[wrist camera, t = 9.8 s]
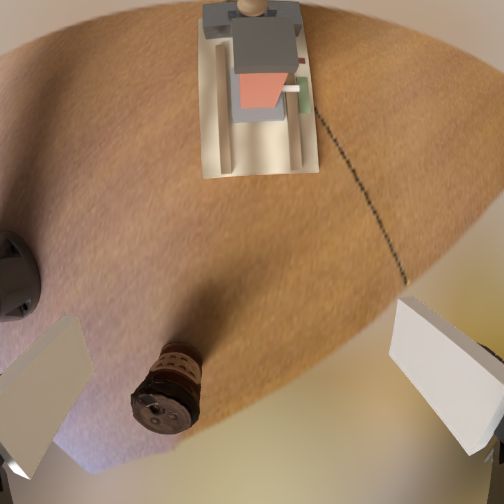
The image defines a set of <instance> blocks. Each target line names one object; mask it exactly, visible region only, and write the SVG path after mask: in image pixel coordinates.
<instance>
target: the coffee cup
mask: <svg viewBox="0 0 504 504" xmlns="http://www.w3.org/2000/svg"><path fill="white" fill-rule="evenodd" d="M201 377H202V359H201V356H200V354H199V352H198V351H197V350H196V349H195V348H193V347H192V346H190V345H188V344H185V343H172V344H169V345H166V346H165V347H164V348H163V349H162V350H161V354H160V356H159V359H158V360H157V361H156V362H155V363H154V365H153V366H152V367H151V368H150V371H149V374H148V375H147V376H146V378H145V380H144V381H143V382H142V383H141V384H140V385H139V387H138V388H137V389H136V390H135V392H134V393H133V394H131V406H132V409H133V416H134V418H135V419H136V420H137V421H138V422H139V423H140V424H141V425H142V426H144V427H145V428H147V429H148V430H151V431H153V432H156V433H159V434H177V433H179V432H182V431H184V430H187V429H188V428H190V427H192V426H193V424H195V422H196V421H197V420H198V419H199V414H200V407H199V404H200V402H199V401H200V391H201Z"/></svg>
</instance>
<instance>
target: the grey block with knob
mask: <svg viewBox="0 0 504 504" xmlns="http://www.w3.org/2000/svg"><path fill="white" fill-rule="evenodd" d="M242 17H250V16H245V15H243V14H242V13H241V12H240V11H239V10H238V7H237V2H223V3H212V4H203V31H204V35H205V38H206V40H208V39H218V38H231V37H233V36H232V18H242ZM255 17H292V18H293V23H294V30H295V37H298V35H299V33H300V30H301V27H302V25H303V23H302V17H301V11H300V6H299V2H290V1H268V8H267V10H266V11H265V12H264V13H263V14H262V15H260V16H255Z"/></svg>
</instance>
